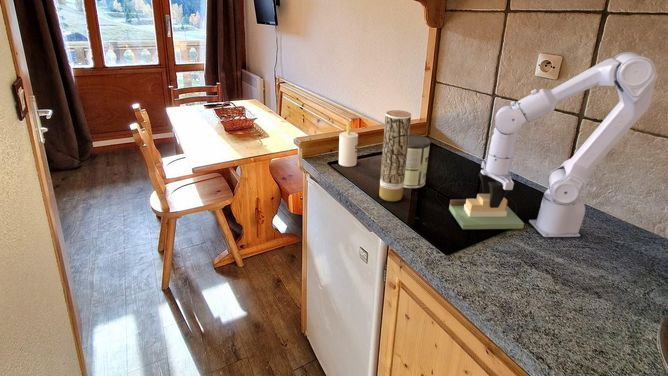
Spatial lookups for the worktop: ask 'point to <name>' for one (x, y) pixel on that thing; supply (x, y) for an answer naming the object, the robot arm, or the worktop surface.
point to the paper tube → (394, 154)
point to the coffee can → (416, 161)
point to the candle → (348, 148)
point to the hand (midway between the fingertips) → (490, 203)
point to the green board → (483, 218)
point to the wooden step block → (484, 207)
